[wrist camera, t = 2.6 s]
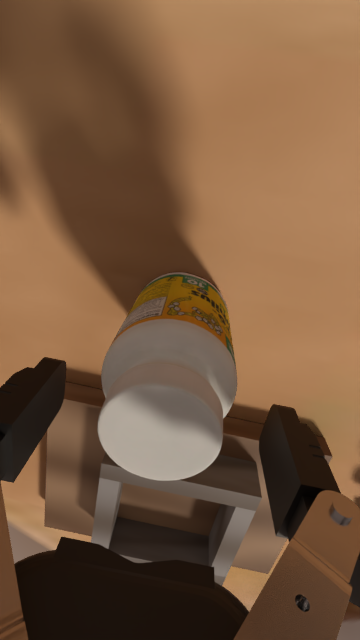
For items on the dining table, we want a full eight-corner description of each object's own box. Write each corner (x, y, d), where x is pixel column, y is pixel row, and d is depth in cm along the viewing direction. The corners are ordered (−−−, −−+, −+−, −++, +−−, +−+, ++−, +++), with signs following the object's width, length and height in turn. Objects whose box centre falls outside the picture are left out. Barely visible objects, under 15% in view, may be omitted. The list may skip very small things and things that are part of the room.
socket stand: (59, 380, 21) (27, 423, 18) (324, 437, 22) (348, 492, 18) (53, 507, 27) (28, 560, 23) (264, 552, 27) (273, 612, 23)
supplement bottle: (118, 299, 19) (37, 407, 10) (197, 251, 17) (185, 330, 8) (168, 368, 20) (137, 513, 12) (245, 330, 19) (275, 464, 10)
